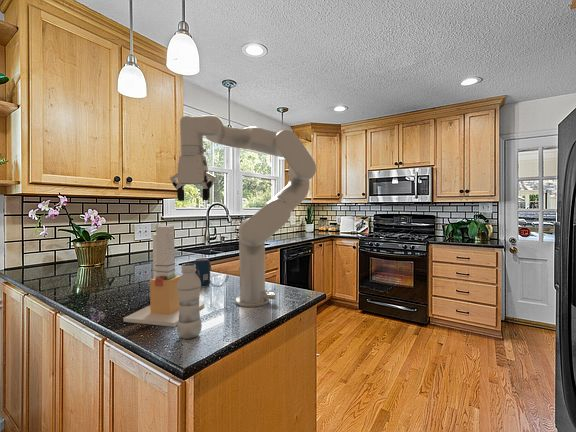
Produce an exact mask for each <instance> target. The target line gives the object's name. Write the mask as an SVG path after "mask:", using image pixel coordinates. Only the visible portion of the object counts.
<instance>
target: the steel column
mask: <svg viewBox="0 0 576 432" xmlns="http://www.w3.org/2000/svg"><path fill="white" fill-rule="evenodd" d="M155 233H156V258H157V265H156V266H157V271H156V272H157V276H156V278H157V277H164V280H169V279H172V278H174V277H176V276H177V275H176V266H175V264H176V263H175V258H176V257H175V225H159V226H155Z"/></svg>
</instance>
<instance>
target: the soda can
mask: <svg viewBox="0 0 576 432" xmlns="http://www.w3.org/2000/svg"><path fill="white" fill-rule="evenodd" d="M193 264H195V265H196V271H195V274H196V275H197V276H198V277H199V279H200V281H201V288H206V287H208V286H210V284H211V262H210V259H209V258H208V257H202V258H195V260H194V263H193Z"/></svg>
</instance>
